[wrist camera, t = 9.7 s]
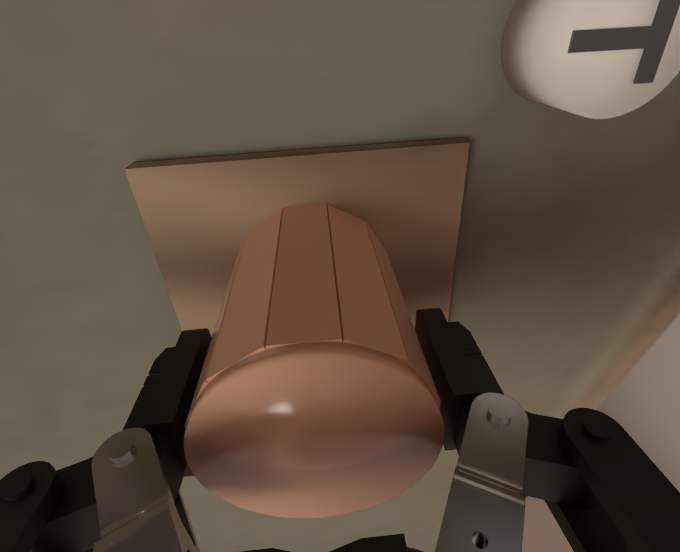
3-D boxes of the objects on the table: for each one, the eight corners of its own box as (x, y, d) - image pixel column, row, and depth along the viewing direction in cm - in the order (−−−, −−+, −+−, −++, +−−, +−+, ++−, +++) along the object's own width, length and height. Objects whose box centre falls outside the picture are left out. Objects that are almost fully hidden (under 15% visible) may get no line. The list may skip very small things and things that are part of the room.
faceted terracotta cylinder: (221, 212, 14) (145, 374, 8) (387, 199, 15) (457, 345, 8) (251, 338, 18) (217, 528, 11) (386, 326, 18) (434, 505, 11)
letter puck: (513, -38, 12) (577, -58, 9) (640, -44, 12) (742, -67, 9) (491, 105, 14) (537, 124, 11) (599, 98, 14) (672, 115, 11)
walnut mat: (132, 162, 14) (124, 169, 13) (461, 137, 14) (469, 142, 14) (201, 362, 19) (198, 374, 19) (439, 340, 20) (444, 351, 19)
